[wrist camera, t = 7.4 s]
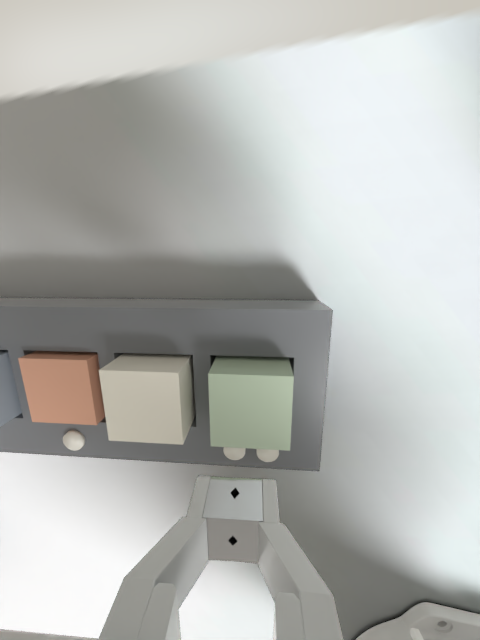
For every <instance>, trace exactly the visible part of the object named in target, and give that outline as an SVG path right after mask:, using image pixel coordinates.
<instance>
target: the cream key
mask: <svg viewBox="0 0 480 640" xmlns="http://www.w3.org/2000/svg"><path fill="white" fill-rule="evenodd" d="M99 376H100V383H101V390H102V397H103V404H104V411H105V418H106V425H107V432H108V439H109V441H125V442H143V443H161V444H179V445H183V444H184V441H185V439H186V437H187V434H188V432H189V429H190V427H191V425H192V422H193V420H194V418H195V415H196V410H195V389H194V369H193V355H181V354H144V353H123V354H122V355H120V356H119V357H117V358H116V359H115V360H113V361H112V362H110V363H109V364H107V365H106V366H104V367H103V368H101V369H100V370H99Z"/></svg>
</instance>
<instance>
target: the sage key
mask: <svg viewBox="0 0 480 640" xmlns="http://www.w3.org/2000/svg"><path fill="white" fill-rule="evenodd" d="M293 383H294V375H293V372H292V368H291V365H290V361H289V358H288V357H256V356H219V355H217V356H216V358H215V360H214V362H213V364H212V367H211V369H210V371H209V373H208V384H209V412H210V441H211V446H215V447H233V448H251V449H269V450H287V451H290V443H291V423H292V403H293Z"/></svg>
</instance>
